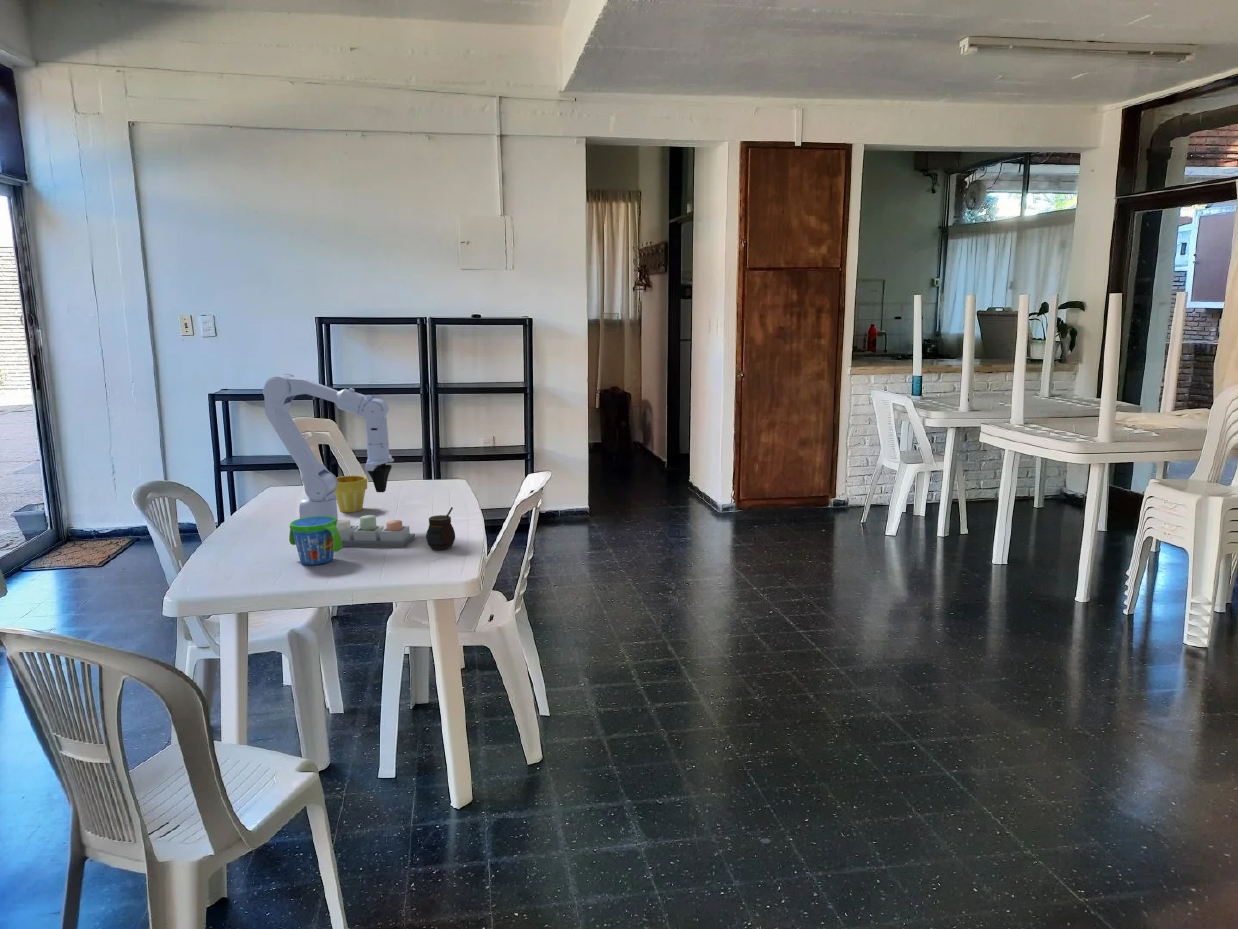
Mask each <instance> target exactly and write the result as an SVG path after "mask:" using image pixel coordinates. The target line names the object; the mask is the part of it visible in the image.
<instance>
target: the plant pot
mask: <svg viewBox="0 0 1238 929" xmlns="http://www.w3.org/2000/svg"><path fill="white" fill-rule="evenodd" d="M336 478H337V482H338V484H337V488H336V489H335V490H334V493H335V495H336V502H337V507H338V509H339V512H341V513H356V512H361V510H363V507H364V501H365V494H366V490H367V489H368V478H367V476H363V475H344V476H338V477H336Z"/></svg>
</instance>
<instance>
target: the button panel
mask: <svg viewBox="0 0 1238 929" xmlns="http://www.w3.org/2000/svg"><path fill="white" fill-rule="evenodd" d="M376 527H377V529H376V530H375V531H361V528H360V526H358V525H351V529H349V530H348V531H338V532H339V535H340V538H341V542H342V548H400V549H401V548H403V549H404V548H406V546H408V545H409V544H410V543H411V542H413V541H414V540H415V539H416V533H410V530H411V529H410V525H402V527H403V529H402V530H401V531H387V526H386V527H384V525H376Z"/></svg>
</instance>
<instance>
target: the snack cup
mask: <svg viewBox="0 0 1238 929" xmlns="http://www.w3.org/2000/svg"><path fill="white" fill-rule="evenodd" d="M336 525H337V519H336V518H334V517H331V516H313V517H305V518H301V519H300V518H297V519H296V520H293V521H291V522H290V523H289V529H290V530H289V536H288V537H289V543H290V545H292V546H296V550H297V553H298V557H299V561H300V563H301V564H304V565H309V566H310V565H311V566H315V565H322V564H326V563H329V562H331V561H332V560H333V559H334V553H338V552H339V551H341V549H342V548H343V547H342V542H341V538H340V535H339V532H338V529H337V528H336Z"/></svg>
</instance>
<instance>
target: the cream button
mask: <svg viewBox="0 0 1238 929" xmlns="http://www.w3.org/2000/svg"><path fill="white" fill-rule="evenodd" d="M351 526H352V525H351V520H350V519H340V520H339V519H338V521H337V525H336V528H337V529H338V531H348V530H349V529H351Z"/></svg>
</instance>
